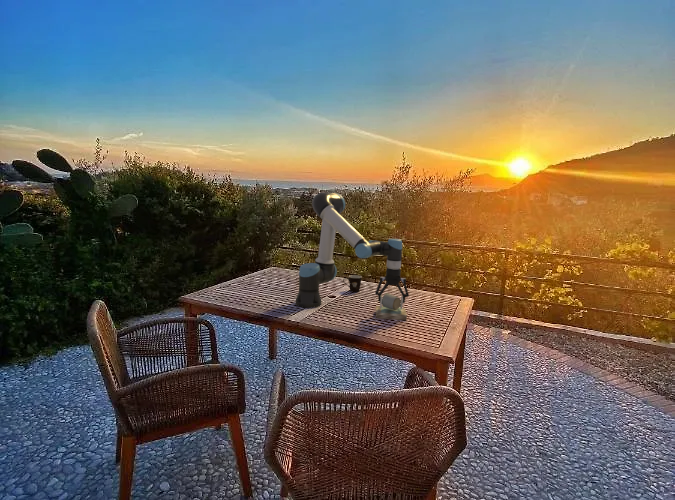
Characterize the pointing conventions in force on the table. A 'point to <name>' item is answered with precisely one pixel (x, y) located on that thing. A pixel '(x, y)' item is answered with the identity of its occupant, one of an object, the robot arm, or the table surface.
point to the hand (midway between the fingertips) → (391, 308)
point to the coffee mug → (354, 283)
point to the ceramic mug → (391, 301)
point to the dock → (391, 313)
